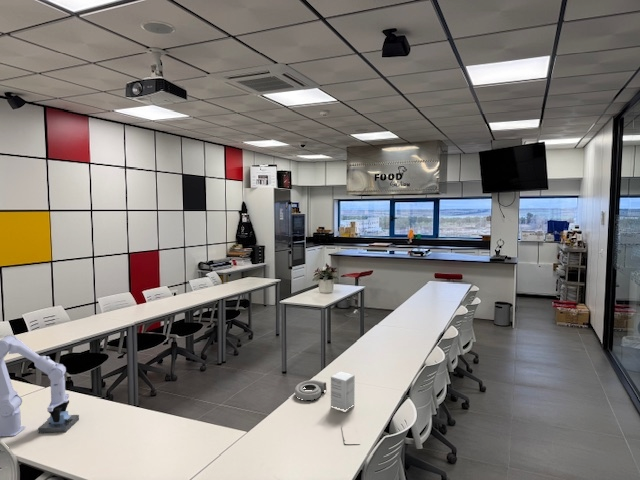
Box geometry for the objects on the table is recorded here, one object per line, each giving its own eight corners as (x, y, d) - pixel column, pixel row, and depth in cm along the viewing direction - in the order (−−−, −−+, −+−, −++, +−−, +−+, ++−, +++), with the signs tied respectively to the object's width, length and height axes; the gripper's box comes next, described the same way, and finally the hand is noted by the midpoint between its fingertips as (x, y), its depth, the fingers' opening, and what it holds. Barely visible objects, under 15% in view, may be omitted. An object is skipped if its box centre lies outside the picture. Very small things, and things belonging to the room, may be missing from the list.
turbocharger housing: (289, 399, 228) (312, 406, 220) (288, 388, 228) (311, 394, 219) (307, 386, 242) (328, 392, 234) (306, 376, 242) (328, 381, 234)
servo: (47, 426, 194) (46, 415, 193) (52, 421, 198) (51, 411, 197) (67, 425, 194) (66, 415, 194) (71, 421, 198) (71, 410, 198)
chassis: (38, 433, 190) (38, 428, 190) (53, 420, 202) (53, 415, 201) (65, 432, 190) (65, 427, 190) (79, 419, 202) (78, 414, 202)
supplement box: (340, 401, 223) (340, 370, 222) (354, 406, 218) (355, 374, 217) (330, 408, 215) (330, 376, 214) (345, 413, 210) (345, 380, 209)
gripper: (58, 397, 188) (59, 427, 189) (74, 384, 203) (75, 411, 203) (42, 398, 188) (43, 427, 188) (59, 385, 202) (60, 412, 203)
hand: (59, 419), depth 196 cm, fingers closed on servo, 4 cm apart
